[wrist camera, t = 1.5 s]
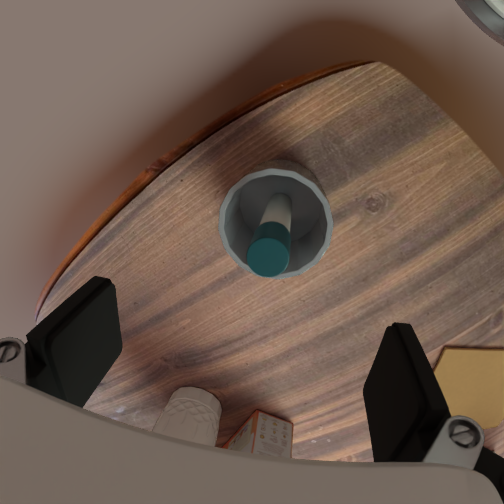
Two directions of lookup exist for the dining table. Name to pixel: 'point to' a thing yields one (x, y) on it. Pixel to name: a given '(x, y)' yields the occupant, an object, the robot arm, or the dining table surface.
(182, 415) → the white cup
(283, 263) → the marker
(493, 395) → the cork mat
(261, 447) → the cracker box
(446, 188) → the dining table surface
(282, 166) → the pen pot
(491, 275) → the dining table surface
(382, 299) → the dining table surface
